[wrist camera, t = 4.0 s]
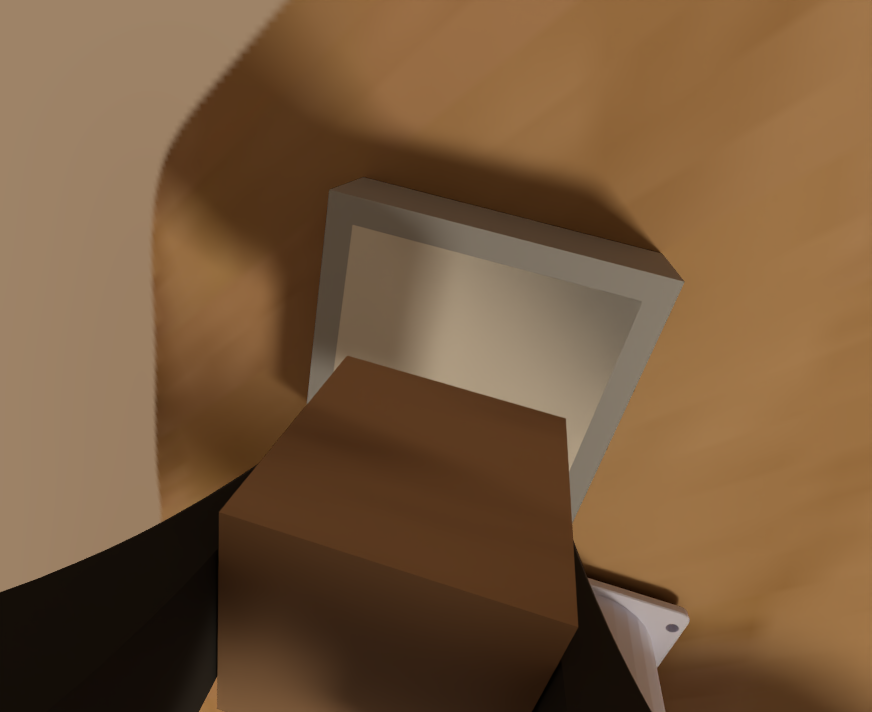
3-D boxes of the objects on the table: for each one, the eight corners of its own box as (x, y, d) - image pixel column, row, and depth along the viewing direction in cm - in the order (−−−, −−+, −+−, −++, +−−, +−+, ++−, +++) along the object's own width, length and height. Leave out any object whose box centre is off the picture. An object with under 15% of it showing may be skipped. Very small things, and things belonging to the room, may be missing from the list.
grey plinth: (561, 486, 21) (563, 542, 18) (331, 418, 22) (300, 461, 19) (662, 253, 16) (684, 281, 13) (363, 176, 17) (329, 189, 14)
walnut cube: (503, 571, 13) (481, 802, 9) (324, 515, 14) (217, 709, 9) (565, 418, 11) (578, 627, 7) (347, 355, 11) (219, 512, 7)
